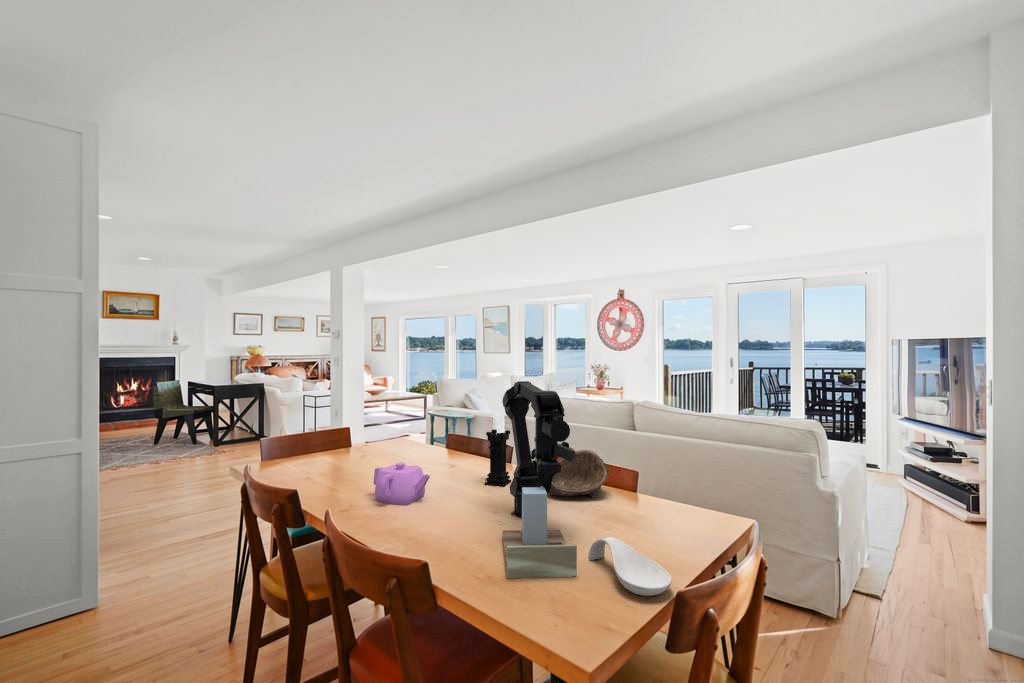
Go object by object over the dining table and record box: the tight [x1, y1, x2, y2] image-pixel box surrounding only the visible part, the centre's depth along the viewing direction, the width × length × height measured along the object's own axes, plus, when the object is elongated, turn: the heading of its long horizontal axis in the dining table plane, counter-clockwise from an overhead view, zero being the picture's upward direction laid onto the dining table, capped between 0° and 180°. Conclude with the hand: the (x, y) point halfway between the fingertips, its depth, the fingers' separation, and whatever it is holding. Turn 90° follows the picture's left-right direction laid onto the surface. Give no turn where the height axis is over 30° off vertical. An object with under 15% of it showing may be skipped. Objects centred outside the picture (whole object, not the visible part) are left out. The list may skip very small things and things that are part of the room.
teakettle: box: [373, 462, 431, 506], centre depth 173 cm, size 17×17×12 cm
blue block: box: [521, 486, 548, 545], centre depth 131 cm, size 6×6×13 cm
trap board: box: [501, 529, 578, 579], centre depth 126 cm, size 24×16×7 cm, turn 4°
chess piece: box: [484, 429, 512, 488], centre depth 192 cm, size 8×8×20 cm
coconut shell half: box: [548, 449, 611, 498], centre depth 180 cm, size 15×16×25 cm
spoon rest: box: [587, 536, 673, 597], centre depth 115 cm, size 24×12×7 cm, turn 27°
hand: (545, 490), depth 142 cm, fingers open, 7 cm apart
